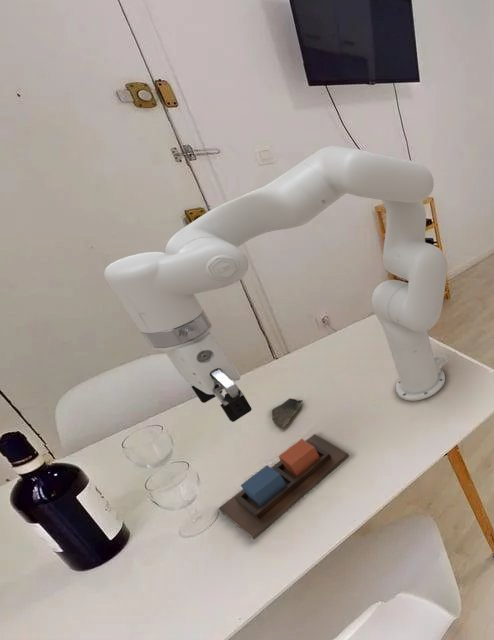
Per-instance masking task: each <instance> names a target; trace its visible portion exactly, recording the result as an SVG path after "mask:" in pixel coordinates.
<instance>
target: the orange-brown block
mask: <svg viewBox="0 0 494 640" xmlns="http://www.w3.org/2000/svg"><path fill="white" fill-rule="evenodd" d="M278 459H279V461H280V460H281V461H282V463H283V465H284V467H285V468H286V470H287V471H289V472H290V473H291V474H293V475H294V476H295V477H298V476H299V475H300V474H302V473H303V472H304V471H305V470H306V469H308V468H309V467H310V466H311V465H312V464H314V463H315V462H316V461H317V460H318V459H320V457H319V455H318V453H317V451H316V449H315V447H314V446H312V445H311V444H309V443H308V442H306V440H305V439H303V438H301V439H300V440H298V441H297V442H296V443H294V444H292V445H291V446H290V447H289V448H287V449H286V450H284V452H282V453H281V454H280V455H278Z"/></svg>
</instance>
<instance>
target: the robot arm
mask: <svg viewBox="0 0 494 640" xmlns="http://www.w3.org/2000/svg"><path fill="white" fill-rule="evenodd" d="M434 181H435V180H434V178H433V174H432V172H431V170H429V168H428V167H427V166H425V165H424V164H423V163H421V162H419V161H415V160H409V159H404V158H399V157H394V156H388V155H385V154H380V153H375V152H371V151H368V150H364V149H360V148H354V147H348V146H347V147H346V146H341V145H329V146H325V147H322V148H321V149H319V150H317V151H316V152H314V153H312V154H311V155H309V156H308V157H307V158H305V159H303V160H301V161H300V162H299V163H298V164H296V165H294V166H293V167H291V168H290V169H288V170H287V171H285V172H284V173H283V174H281V175H279V176H277V177H276V178H275V179H273V180H272V181H270V182H269V183H267V184H266V185H264V186H262V187H260V188H257V189H255V190H252V191H249V192H248V193H245V194H244V195H243V194H242V195H241V196H238V197H236V198H234V199H231V200H229V201H227V202H225V203H222V204H220V205H217V206H215V207H214V208H212V209H210V210H209V211H207V212H206V213H204V214H202V215H201V216H199V217H197V218H196V219H195V220H193V221H192V222H190V223H188V224H187V225H185V226H184V227H182V228H181V229H179V230H178V231H177V232H176V233H174V234H173V236H171V238H170V239H169V240H168V242H167V244H166V246H165V250H164V251H165V252H161V251H147V252H141V253H136V254H132V255H128V256H125V257H121V258H119V259H117V260H115V261H114V262H111V263H110V264H109V265H107V266H106V267H105V269H104V270H103V277H104V279H105V281H106V283H107V284H108V286H109V287H110V289H111V290H112V291H113V293H114V294H115V296H116V298H117V299H118V301H119V302H120V303H121V304H122V307H123V308H124V309H125V311H126V312H127V314H128V315H129V316H130V318H131V320H132V321H133V323H134V324H135V325H136V327H137V328H138V330H139V331H140V333H141V334H142V336H143V337H144V338H145V340H146V342H147V343H148V344H149V346H150V347H151V349H152V350H153V351H157V352H164V353H165V354H166V356H167V358H168V359H169V361H170V362H171V364H172V365H173V367H174V368H175V370H176V371H177V373H178V374H179V375H180V377H182V378H183V380H185V381H186V382H187V383H189V384H190V385H191V386H190V387H191V389H192V390H193V392H194V393H195V395H196V397H197V398H198V399H199V401H200V402H201V403H203V404H205V403H207V402H209V401H211V400H212V399H215V398H217V399H218V401H220V403H221V404H220V408H221V409H222V410H223V412H224V413H225V415H226V417H227V418H228V420H229V421H230V422H232V423H234V422H236V421H238V420H239V419H241V418H243V417H244V416H245V415H247V414H248V413H250V412H251V411H253V408H252V406H251V405H250V403H249V401H248V400H247V398H246V397H245V395H244V393H243V392H242V390H241V389H240V388H239V387H238V385H237V384H236V383H235V382H237V381H240V380H241V377H242V376H241V374H240V373H239V371H238V369H237V368H236V367H235V365H234V363H233V361H232V360H231V359H230V357H229V356H228V354H227V353H226V351H225V350H224V348H223V347H222V345H221V344H220V342H218V340H217V339H216V338H215V337H214V335H213V334H212V333H211V331H212V329H213V325H212V322H211V321H210V320H209V317H208V315H207V314H206V312H205V310H204V309H203V307H202V305H201V303H200V302H199V300H198V298H197V296H196V295H195V294H200V293H204V292H209V291H214V290H218V289H223V288H225V287H226V288H227V287H229V286H232V285H234V284H236V283H238V282H239V281H241V280H242V279H243V278H244V277H245V276H246V274H247V272H248V270H249V260H248V257H247V255H246V254H245V252H244V251H242V249H240V246H242V245H243V244H245V243H246V242H248V241H250V240H253V239H254V238H256V237H258V236H261V235H264V234H266V233H270V232H274V231H275V232H276V231H281V230H288V229H294V228H297V227H301V226H304V225H306V224H308V223H309V222H310V221H312V220H313V219H314V218H316V217H317V216H318V215H320V213H322V212H323V211H324V210H326V209H327V208H329V207H330V206H331V205H333V204H334V203H335V202H336V201H338V200H339V199H341V198H342V197H343V196H344V195H346V194H348V195H350V196H351V195H352V196H356V197H361V198H365V199H373V200H380V201H382V204H383V206H384V209H385V212H386V223H385V224H386V225H385V234H384V242H383V243H384V244H383V249H382V250H383V251H382V264H383V268H384V269H385V270H386V271H387V272H389V273H390V274H392V275H393V276H396V277H398V278H401V279H404V280H406V281H408V282H406V281H403V280H400V279H399V280H398V279H388V280H384V281H383V282H381V283H379V284H378V285H377V286H376V287H375V288H374V290H373V292H372V295H371V306H372V310H373V312H374V314H375V317H376V318H377V321H378V322H379V324H380V325H381V328H382V331H383V332H384V335H385V339H386V341H387V344H388V348H389V350H390V353H391V356H392V360H393V363H394V366H395V370H396V374H397V375H398V380H397V381H396V384H395V390H396V394H397V395H398V397H399V398H401V399H402V400H405V401H409V402H410V401H411V402H414V401H415V402H417V401H421V400H426V399H428V398H431V397H432V396H433V395H434V396H435V394H437V393H438V392H439V391H440V390H441V389H442V387H443V386H445V385H444V384H445V383H446V376H445V372H444V370H443V369H442V367H443V365H444V364H446V363H447V362H448V361H449V360H450V356H449V355H448V354H443V356H441V357H439V355H436V354H435V355H434V352H433V349H432V344H431V340H430V336H429V332H428V331H429V330H431V329H432V328H433V327H434V326H436V324H437V323H438V321H439V319H440V317H441V314H442V311H443V304H444V297H445V293H446V284H447V278H448V260H447V258H446V255H445V253H444V252H443V251H442V249H441V248H439V247H438V246H436V245H434V244H432V243H428V242H426V229H427V228H426V227H427V212H426V208H425V205H424V201H425V200H427V199H428V198H429V197H430V196H431V194H432V192H433V190H434V184H435V183H434ZM223 390H224V391H225V394H224V395H223V394H222V393H223Z"/></svg>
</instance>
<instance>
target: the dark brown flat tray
mask: <svg viewBox="0 0 494 640" xmlns="http://www.w3.org/2000/svg"><path fill="white" fill-rule="evenodd" d="M305 441H306V442H308V443H309V444H311V445H312V446H314V447H315V449H316V451H317V453H318V455H319V457H320V459H318V460H317V461H316V462H315V463H314V464H312V465H311V466H310V467H309V468H308V469H306V470H305V471H304V472H303V473H302V474H300V475H299V476H298V477H295V476H294V475H293V474H291V473H290V472H289V471H287V470H286V468H285V467H284V465H283V463H282V461H281V460H280V459H279V461H278V462H276V463H274V465H272V466H270V468H272V469H273V470H275V471H276V472H278V473H279V474H280V475H281V477H282V478H283V480H284V482H285V483H286V485H287V486H286V487H285V488H283V489H282V490H281V491H280V492H279V493H277V494H276V495H275V496H274V497H273V498H271V499H270V500H269V501H268V502H267V503H265V504H264V505H263V506H262V507H260V506H258V505H257V504H256V503H255V502H253V501H252V500H251V499H250V498H249V497H248V495H247V494H246V492H245V491H244V490H243V489H241V490H240V491H239V492H237V493H236V494H235V495H234V496H232V497H230V498H229V499H228V500H227V501H226V502H225V503H223V504H222V505H221V506H219V507H218V510H219V511H220V512H221V513H222V514H223V515H224V516H226V517H227V518H228V519H229V520H230V521H232V522H233V523H234V524H235V525H236V526H238V527H239V528H240V530H242V531H243V532H245V533H246V534H247V535H248V536H249V537H250V538H251V539H253V540H255V539H257V538H258V536H260V535H261V534H263V532H264V531H266V529H268V528H269V527H270V526H272V525H273V523H275V522H276V521H277V520H278V519H280V518H281V516H283V515H284V514H285V513H286V512H287V511H289V509H291V508H292V507H293V506H294V505H295V504H297V503H298V502H299V501H300V500H301V499H302V498H303V497H305V496H306V494H308V493H309V492H310V491H311V490H313V489H314V488H315V487H316V486H317V485H318V484H319V483H320V482H322V481H323V480H324V479H325V478H326V477H327V476H329V475H330V474H331V473H332V472H333V471H334V470H335V469H336V468H338V467H339V466H340V465H341V464H342V463H343V462H345V460H346V459H348V458H349V457H350V455H349V454H348V452H346V451H345V450H343V449H341V448H339V447H338V446H336V445H334V444H333V443H331V442H330V441H327V440H325V439H324V438H322V437H320V436H319V435H317V434H316V433H314V434H312V435H311V436H310V437H308V439H306V440H305Z"/></svg>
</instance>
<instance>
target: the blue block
mask: <svg viewBox="0 0 494 640" xmlns="http://www.w3.org/2000/svg"><path fill="white" fill-rule="evenodd" d="M286 486H287V485H286V483H285V482H284V480H283V478H282V477H281V475H280V474H279V473H278V472H276V471H275V470H273V469H272V468H271V466H269V465H268V464H266V465H265V466H264V467H262V468H261V469H260V470H258V471H257V472H256V473H254V474H253V475H252V476H251V477H249V478H248V479H246V480H245V481H244V482H243V483H241V484H240V487H241V488H242V490H244V491H245V492H246V494H247V495H248V497H249V498H250V499H251V500H252V501H253V502H255V503H256V504H257V505H258V506H260V507H262V506H263V505H264V504H265V503H267V502H268V501H269V500H270V499H271V498H273V497H274V496H275V495H276V494H277V493H279V492H280V491H281V490H282V489H283V488H285V487H286Z"/></svg>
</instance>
